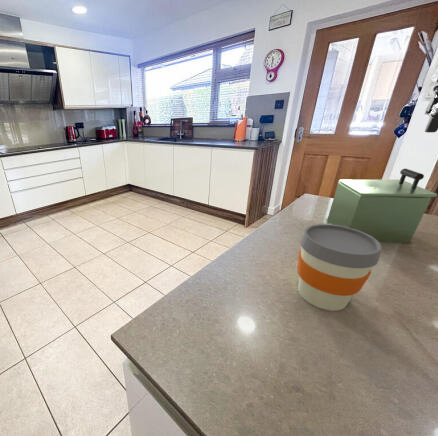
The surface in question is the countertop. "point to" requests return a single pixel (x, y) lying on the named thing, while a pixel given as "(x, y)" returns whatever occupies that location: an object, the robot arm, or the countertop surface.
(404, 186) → the bin lid
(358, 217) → the bin
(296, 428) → the countertop surface
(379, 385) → the countertop surface
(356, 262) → the reusable coffee cup
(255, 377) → the countertop surface
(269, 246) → the countertop surface
